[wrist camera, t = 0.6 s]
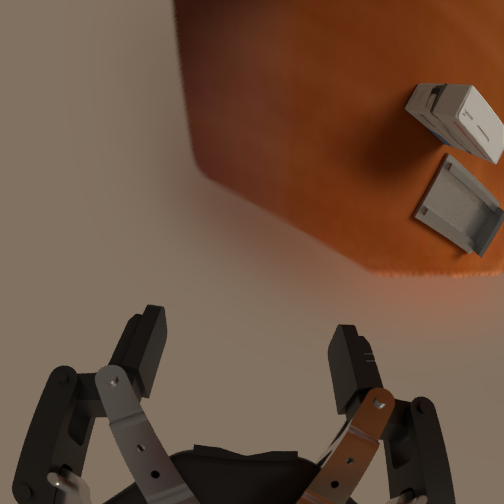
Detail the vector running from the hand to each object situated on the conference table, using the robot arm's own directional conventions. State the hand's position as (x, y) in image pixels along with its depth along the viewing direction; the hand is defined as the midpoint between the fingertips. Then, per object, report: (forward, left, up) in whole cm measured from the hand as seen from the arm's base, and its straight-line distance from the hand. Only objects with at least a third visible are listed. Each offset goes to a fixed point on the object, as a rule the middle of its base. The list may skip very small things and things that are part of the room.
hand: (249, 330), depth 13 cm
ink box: (-19, +18, -26) cm, 37 cm away
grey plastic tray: (-10, +31, -26) cm, 42 cm away
